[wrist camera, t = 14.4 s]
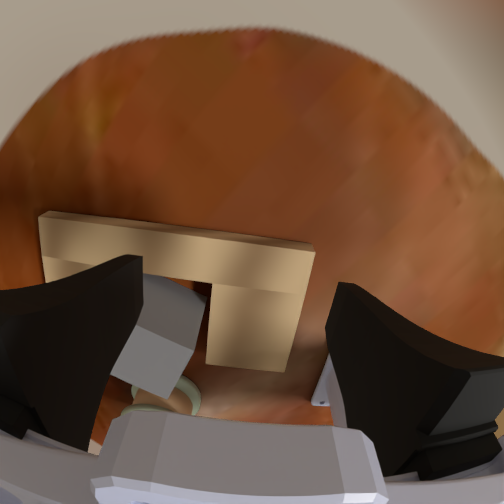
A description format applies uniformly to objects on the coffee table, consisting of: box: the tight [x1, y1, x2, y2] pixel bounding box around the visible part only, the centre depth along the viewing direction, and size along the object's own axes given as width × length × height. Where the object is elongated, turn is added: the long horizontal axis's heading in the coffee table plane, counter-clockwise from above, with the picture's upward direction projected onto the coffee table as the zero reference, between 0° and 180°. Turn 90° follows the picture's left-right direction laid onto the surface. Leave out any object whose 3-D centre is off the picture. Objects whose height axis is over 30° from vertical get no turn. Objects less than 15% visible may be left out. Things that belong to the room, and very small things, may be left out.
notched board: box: [38, 211, 315, 372], centre depth 21 cm, size 19×10×2 cm, turn 82°
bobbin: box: [120, 374, 201, 416], centre depth 24 cm, size 6×6×5 cm
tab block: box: [110, 273, 207, 400], centre depth 20 cm, size 5×5×6 cm
